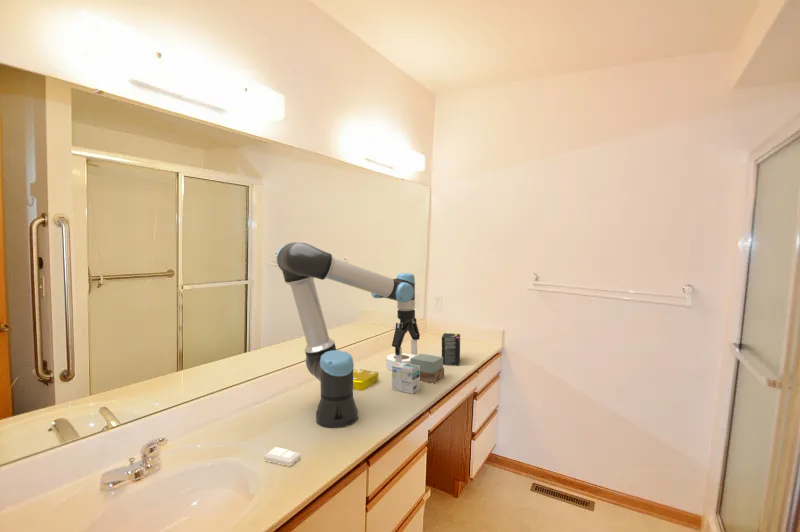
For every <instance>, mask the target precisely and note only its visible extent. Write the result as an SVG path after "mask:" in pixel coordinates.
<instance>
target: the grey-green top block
mask: <svg viewBox="0 0 800 532" xmlns="http://www.w3.org/2000/svg"><path fill="white" fill-rule="evenodd" d="M410 364H413V365H420V371H424V372H429V373H435V372H436V371H438V370H440V369H442V368H444V365H443V357H442V356H437V355H431V354H425V353H420V354H417V355H415V357H413V358H411V360H410Z"/></svg>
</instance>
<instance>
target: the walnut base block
mask: <svg viewBox="0 0 800 532" xmlns="http://www.w3.org/2000/svg"><path fill="white" fill-rule="evenodd" d="M444 378H445V367H443V368H442V369H440V370H438V371H436V372H435V373H429V372H424V371H420V382H421V381H422V383H426V382H427V384H431V383H433V385H435V384H437V383H438V382H440V381H441V380H442V379H444ZM436 382H437V383H436Z"/></svg>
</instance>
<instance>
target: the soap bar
mask: <svg viewBox="0 0 800 532" xmlns="http://www.w3.org/2000/svg"><path fill="white" fill-rule="evenodd" d="M299 458H300V459H301V453H300V452H298V451H296V450H292V449H287V448H282V447H278V446H275V447H274V448H273V449H271V450H270V451H269V452H267V453H266V454H265V455H264V456H263V461H264V460H266V461H271V462H275V463H280V464H284V465H288V466H291V465H292V464H293V463H294V462H295V461H297V460H298V459H299ZM300 459H299V460H300ZM299 460H298V461H299ZM266 461H265V462H266ZM298 461H297V462H298ZM294 464H295V463H294ZM294 464H293V465H294ZM293 465H292V466H293ZM292 466H291V467H292Z"/></svg>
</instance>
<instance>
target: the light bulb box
mask: <svg viewBox="0 0 800 532" xmlns="http://www.w3.org/2000/svg"><path fill="white" fill-rule="evenodd" d="M391 389H392V390H393V391H394V390H395V391H398V392H402V393H407V394H411V395H412V394H414V393H416V392H419V391H420V390H421V381H420V365H413V364H408V363H396V364H394V365H392V371H391Z"/></svg>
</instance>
